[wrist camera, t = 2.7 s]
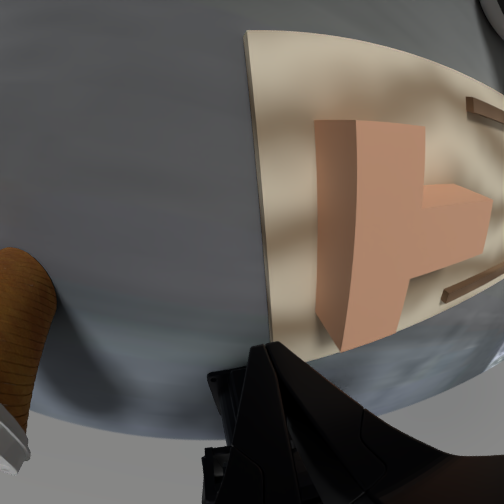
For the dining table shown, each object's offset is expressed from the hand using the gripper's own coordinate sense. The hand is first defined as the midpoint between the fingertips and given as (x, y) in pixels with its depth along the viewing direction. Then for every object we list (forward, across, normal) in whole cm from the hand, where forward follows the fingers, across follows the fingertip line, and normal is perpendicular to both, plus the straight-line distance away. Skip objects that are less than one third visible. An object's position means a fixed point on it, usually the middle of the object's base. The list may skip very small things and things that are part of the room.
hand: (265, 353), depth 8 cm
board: (+9, -19, 0) cm, 21 cm away
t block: (+8, -11, 0) cm, 14 cm away
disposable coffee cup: (+9, +15, +1) cm, 18 cm away
